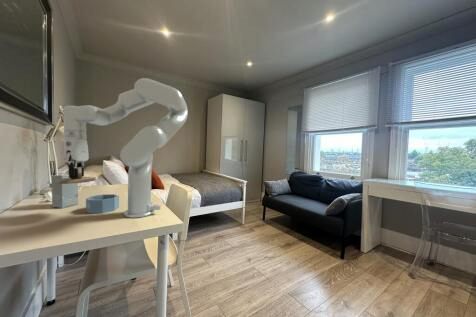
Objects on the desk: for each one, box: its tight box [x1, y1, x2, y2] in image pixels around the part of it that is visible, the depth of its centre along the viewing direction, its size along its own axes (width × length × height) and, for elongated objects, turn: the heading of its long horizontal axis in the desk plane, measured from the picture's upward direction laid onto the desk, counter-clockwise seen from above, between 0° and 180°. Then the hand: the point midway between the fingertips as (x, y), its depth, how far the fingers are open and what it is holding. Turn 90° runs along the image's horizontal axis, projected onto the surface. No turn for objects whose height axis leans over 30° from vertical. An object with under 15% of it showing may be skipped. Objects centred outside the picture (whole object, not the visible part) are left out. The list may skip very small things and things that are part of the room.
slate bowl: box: [85, 193, 120, 214], centre depth 96 cm, size 12×12×6 cm
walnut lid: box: [56, 167, 97, 184], centre depth 87 cm, size 14×14×6 cm
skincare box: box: [51, 173, 79, 209], centre depth 100 cm, size 8×7×16 cm
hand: (76, 176), depth 87 cm, fingers closed on walnut lid, 3 cm apart
